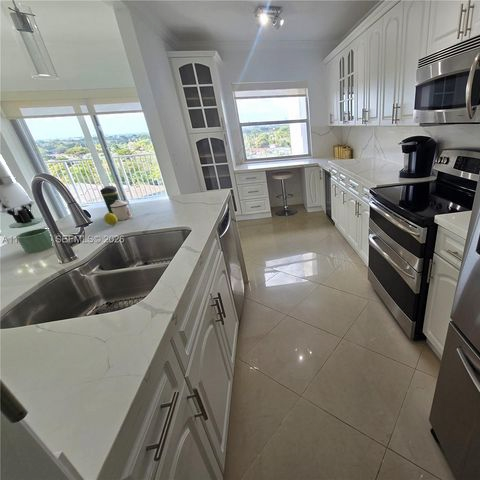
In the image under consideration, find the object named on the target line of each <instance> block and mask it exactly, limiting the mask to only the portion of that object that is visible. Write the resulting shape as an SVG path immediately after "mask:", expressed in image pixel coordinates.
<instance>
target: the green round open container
mask: <svg viewBox="0 0 480 480" xmlns="http://www.w3.org/2000/svg"><path fill="white" fill-rule="evenodd" d="M48 229H49V228H48ZM48 229H47V228H46V227H43V228H35V229H31V230H27V231H25V232H22V233H19V234H17V235H15V238H16V240H17V241H18V243H19V245H20V246H21V248H22V249H23V251H24V253H26V254H34V253H35V254H36V253H39V252H44V251H46V250H50V249H52V248H54V247H53V246H52V241H51V236H50V233H49V231H48Z"/></svg>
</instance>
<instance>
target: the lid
mask: <svg viewBox="0 0 480 480" xmlns="http://www.w3.org/2000/svg"><path fill="white" fill-rule="evenodd" d="M17 211H18V214H21V216H22V217H23V219H24V221H25V222H24V223H17V222H16V221H15V222H13V223H11V224H9V225H8V227H9V229H22V228H29V227H31V226H32V227H33V226H35V225H38V224H40V223H42V222H45V220H43V218H44V217H34V218H35V219H31V218H30V216H29V214H28V213H27V211H26V209H22V208H19V209H17Z"/></svg>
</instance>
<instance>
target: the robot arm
mask: <svg viewBox="0 0 480 480" xmlns="http://www.w3.org/2000/svg"><path fill="white" fill-rule="evenodd" d="M16 180H17V177H16V176H14V175H13V173H12V171H11V170H10V168H9V166H8V165H7V163H6V161H5V159H4V158H3V156H2V155H1V154H0V213H3V214H8V215H9V216H12V218H13V219H14V221H15V223H16V222H17V223H24V222H25V221H24V219H23V217H22V216H21V214H18V211H17V210H18V209H17V208H20V209H26V211H27V213H28V214H29V216H30V218H31V219H35V218H36V217H35V216H34V215H33V213H32V206H33V204H34V203H35V201H34V200H32V199H31V198H30V197H29V195H28V193H27V192H26V190H25V189H24V188H23V186H22V185H21V184H20V183H19V182H18V181H16Z"/></svg>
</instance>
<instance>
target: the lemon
mask: <svg viewBox="0 0 480 480" xmlns="http://www.w3.org/2000/svg"><path fill="white" fill-rule="evenodd" d="M103 219H104V222H105V223H106V225H109V226H112V227H114V226H115V225H116V224H117V223H118V220H117V218H116V216H115V215H114V214H112V213H109V212H107V213H106V214H105V215H104V217H103Z"/></svg>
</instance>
